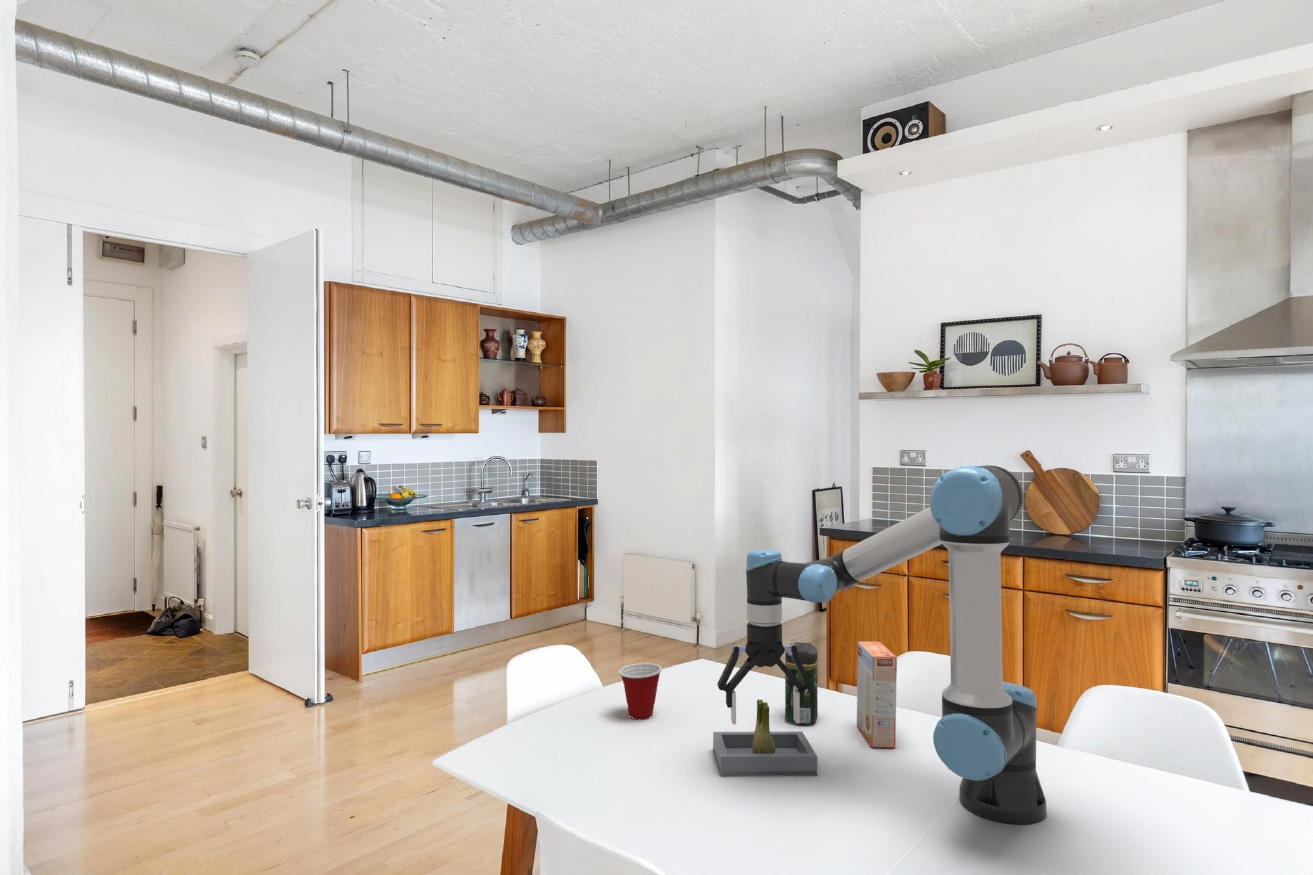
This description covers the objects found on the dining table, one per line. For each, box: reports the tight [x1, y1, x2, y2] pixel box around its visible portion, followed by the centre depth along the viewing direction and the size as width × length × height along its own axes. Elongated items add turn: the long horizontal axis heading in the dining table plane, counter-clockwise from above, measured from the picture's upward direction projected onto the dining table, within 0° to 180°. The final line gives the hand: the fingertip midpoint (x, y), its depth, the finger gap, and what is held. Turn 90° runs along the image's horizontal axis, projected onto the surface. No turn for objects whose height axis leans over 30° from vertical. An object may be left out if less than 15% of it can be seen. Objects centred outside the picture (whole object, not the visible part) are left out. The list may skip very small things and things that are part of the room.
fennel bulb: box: [752, 698, 775, 754], centre depth 169 cm, size 6×5×12 cm
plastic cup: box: [618, 662, 663, 720], centre depth 197 cm, size 11×11×12 cm
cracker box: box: [856, 640, 898, 749], centre depth 184 cm, size 14×6×21 cm, turn 179°
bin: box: [712, 730, 818, 777], centre depth 169 cm, size 14×20×4 cm
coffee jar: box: [784, 641, 819, 726], centre depth 196 cm, size 10×8×19 cm
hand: (765, 722), depth 169 cm, fingers open, 13 cm apart
